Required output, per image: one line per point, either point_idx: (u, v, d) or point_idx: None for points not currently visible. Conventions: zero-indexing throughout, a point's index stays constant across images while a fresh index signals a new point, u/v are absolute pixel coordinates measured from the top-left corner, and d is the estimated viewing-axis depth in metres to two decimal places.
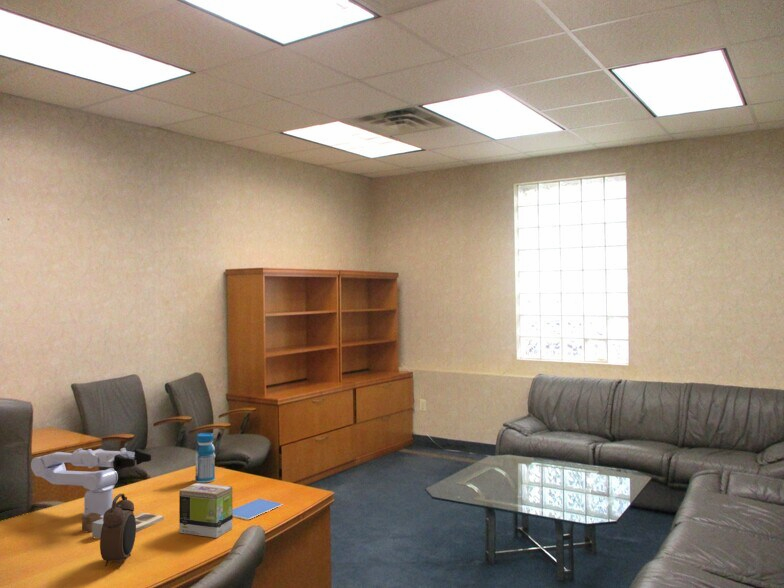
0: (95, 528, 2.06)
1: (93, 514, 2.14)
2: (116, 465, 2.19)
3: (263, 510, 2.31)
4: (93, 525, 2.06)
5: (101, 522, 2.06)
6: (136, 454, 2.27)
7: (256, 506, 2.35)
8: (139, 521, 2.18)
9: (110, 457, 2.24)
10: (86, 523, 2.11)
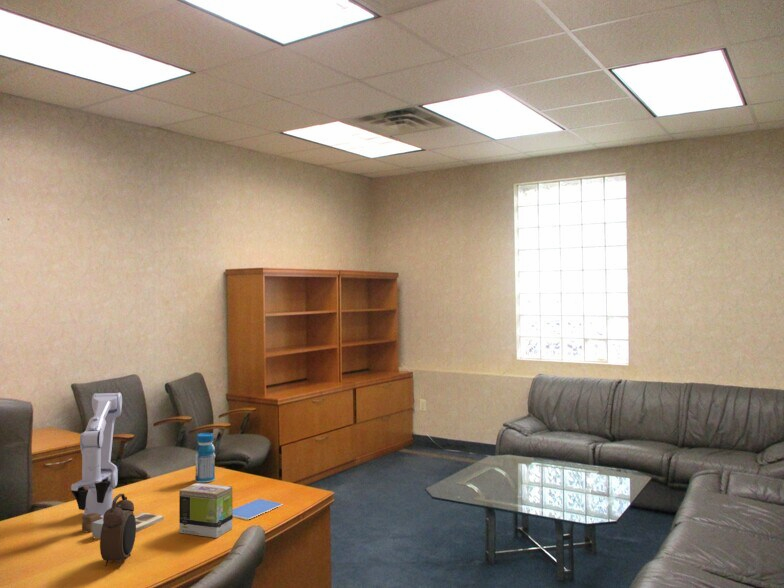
0: (95, 528, 2.06)
1: (93, 514, 2.14)
2: (76, 491, 2.08)
3: (263, 510, 2.31)
4: (93, 525, 2.06)
5: (101, 522, 2.06)
6: (102, 484, 2.16)
7: (256, 506, 2.35)
8: (139, 521, 2.18)
9: (87, 472, 2.11)
10: (86, 523, 2.11)
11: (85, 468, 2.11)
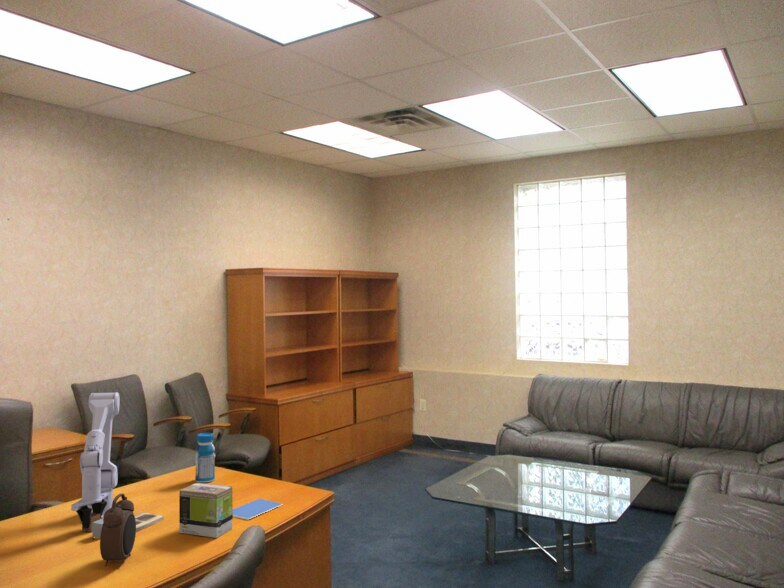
0: (95, 528, 2.06)
1: (93, 514, 2.14)
2: None
3: (263, 510, 2.31)
4: (93, 525, 2.06)
5: (101, 522, 2.06)
6: (98, 505, 2.15)
7: (256, 506, 2.35)
8: (139, 521, 2.18)
9: (87, 491, 2.11)
10: None
11: (85, 488, 2.11)
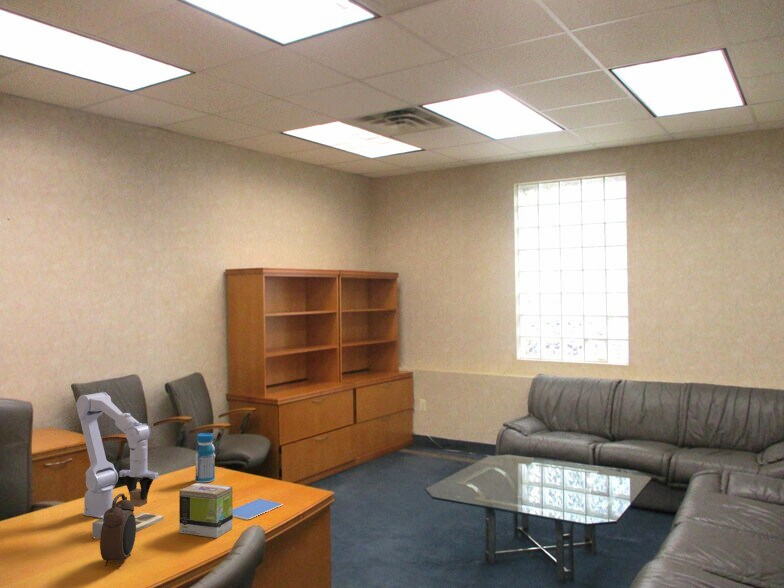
0: (95, 528, 2.06)
1: (139, 490, 2.20)
2: None
3: (263, 510, 2.31)
4: (93, 525, 2.06)
5: (101, 522, 2.06)
6: None
7: (256, 506, 2.35)
8: (139, 521, 2.18)
9: None
10: None
11: None
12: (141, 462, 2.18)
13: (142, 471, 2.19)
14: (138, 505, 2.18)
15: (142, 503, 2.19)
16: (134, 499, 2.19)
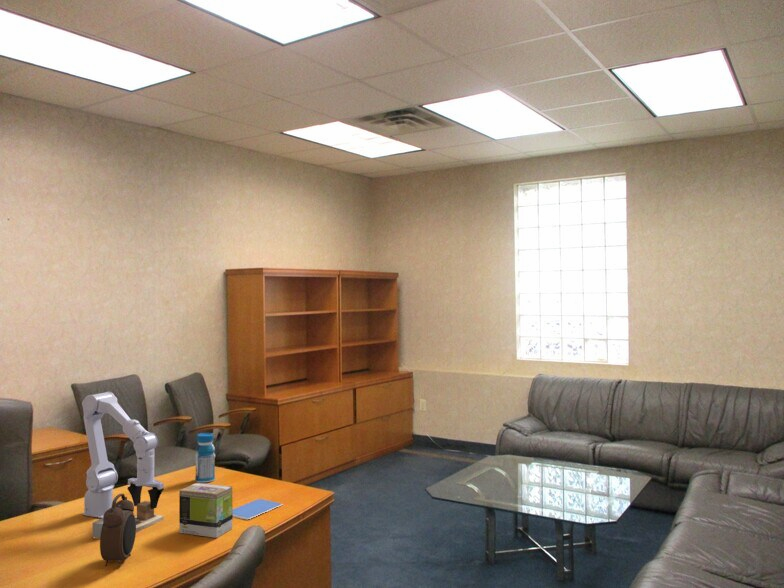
0: (95, 528, 2.06)
1: (146, 503, 2.21)
2: None
3: (263, 510, 2.31)
4: (93, 525, 2.06)
5: (101, 522, 2.06)
6: None
7: (256, 506, 2.35)
8: (139, 521, 2.18)
9: None
10: None
11: None
12: (147, 471, 2.19)
13: (148, 480, 2.20)
14: (144, 518, 2.19)
15: (148, 516, 2.20)
16: (140, 512, 2.20)
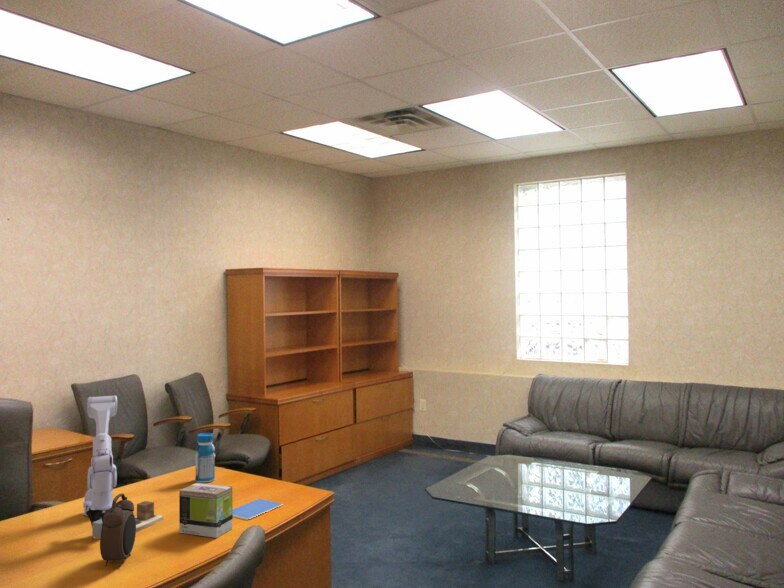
0: (95, 528, 2.06)
1: (146, 503, 2.21)
2: None
3: (263, 510, 2.31)
4: (93, 525, 2.06)
5: (101, 522, 2.06)
6: None
7: (256, 506, 2.35)
8: (139, 521, 2.18)
9: None
10: None
11: None
12: (103, 494, 2.05)
13: (104, 504, 2.05)
14: (144, 518, 2.19)
15: (148, 516, 2.20)
16: (140, 512, 2.20)
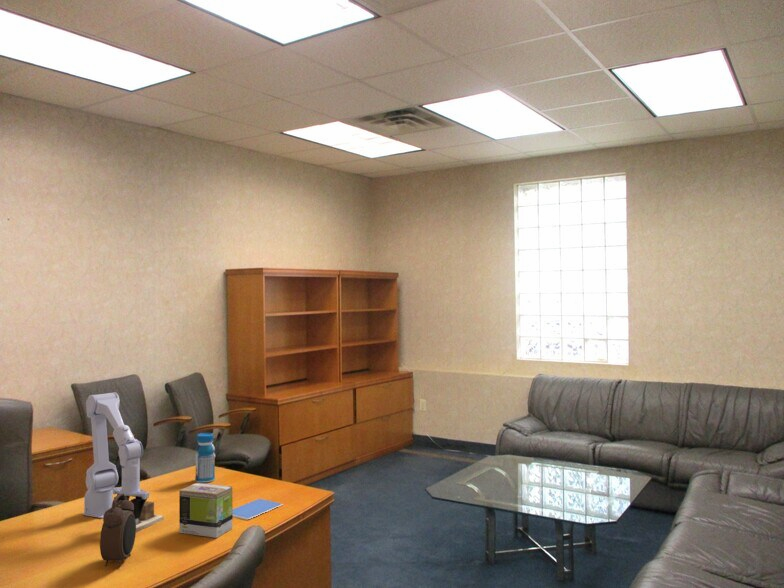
0: None
1: (146, 503, 2.21)
2: None
3: (263, 510, 2.31)
4: None
5: None
6: None
7: (256, 506, 2.35)
8: (139, 521, 2.18)
9: None
10: None
11: None
12: (132, 481, 2.13)
13: (133, 490, 2.13)
14: (144, 518, 2.19)
15: (148, 516, 2.20)
16: None
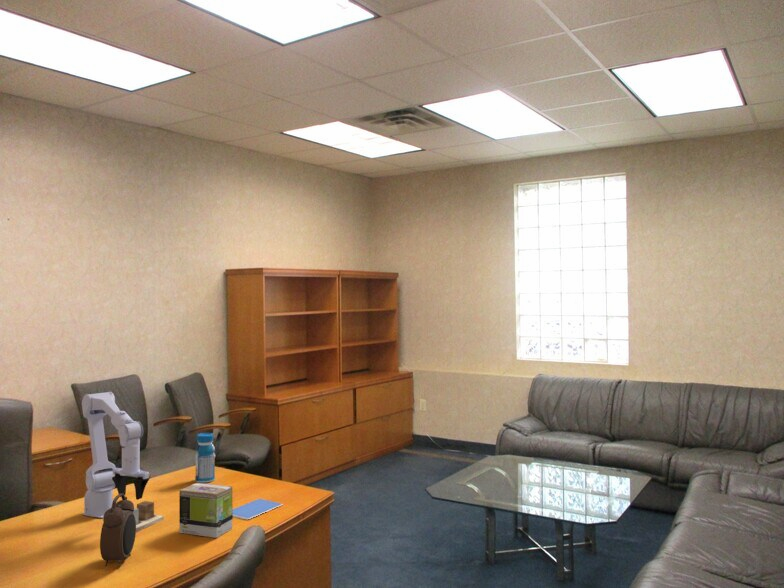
0: None
1: (146, 503, 2.21)
2: None
3: (263, 510, 2.31)
4: None
5: None
6: None
7: (256, 506, 2.35)
8: (139, 521, 2.18)
9: None
10: None
11: None
12: (132, 461, 2.13)
13: (133, 470, 2.13)
14: (144, 518, 2.19)
15: (148, 516, 2.20)
16: (140, 512, 2.20)
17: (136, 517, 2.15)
